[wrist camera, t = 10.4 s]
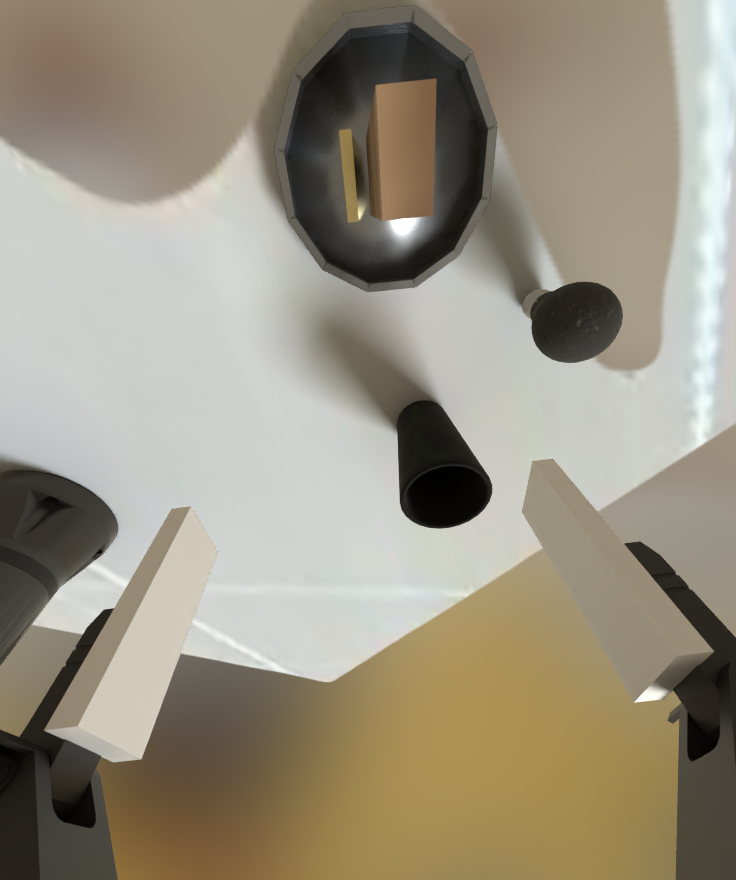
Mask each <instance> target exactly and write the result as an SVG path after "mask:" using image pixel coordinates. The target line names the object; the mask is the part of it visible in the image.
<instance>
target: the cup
mask: <svg viewBox="0 0 736 880" xmlns="http://www.w3.org/2000/svg"><path fill="white" fill-rule="evenodd" d="M397 433H398V461H399V489H400V504H401V508H402V511H403V512H404V514H405V515H406V517H408V518H409V519H410V520H411V521H412V522H414V523H416V524H419V525H421V526H425V527H429V528H450V527H454V526H458V525H461V524H463V523H466V522H468V521H470V520H471V519H473V518H474V517H476V516H477V515H478V514H480V513H481V512H482V511H483V510H484V509H485V507H486V506H487V504H488V503H489V501H490V498H491V495H492V484H491V481H490V478H489V476H488V475H487V473H486V472H485V471H484V469H483V468H482V466H481V465H480V463H479V462H478V460H477V459H476V457H475V456H474V454H473V453H472V451H471V450H470V448H469V447H468V445H467V444H466V442H465V441H464V439H463V438H462V436H461V435H460V433H459V432H458V430H457V429H456V427H455V426H454V424H453V423H452V421H451V420H450V418H449V417H448V415H447V414H446V412H445V411H444V409H443V408H442V407H441V406H440V405H438V404H437V403H435V402H432V401H426V400H423V401H417V402H414V403H412V404H410V405H408V406H407V407H406V408H404V409H403V410H402V412H401V413H400V415H399V417H398V421H397Z"/></svg>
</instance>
